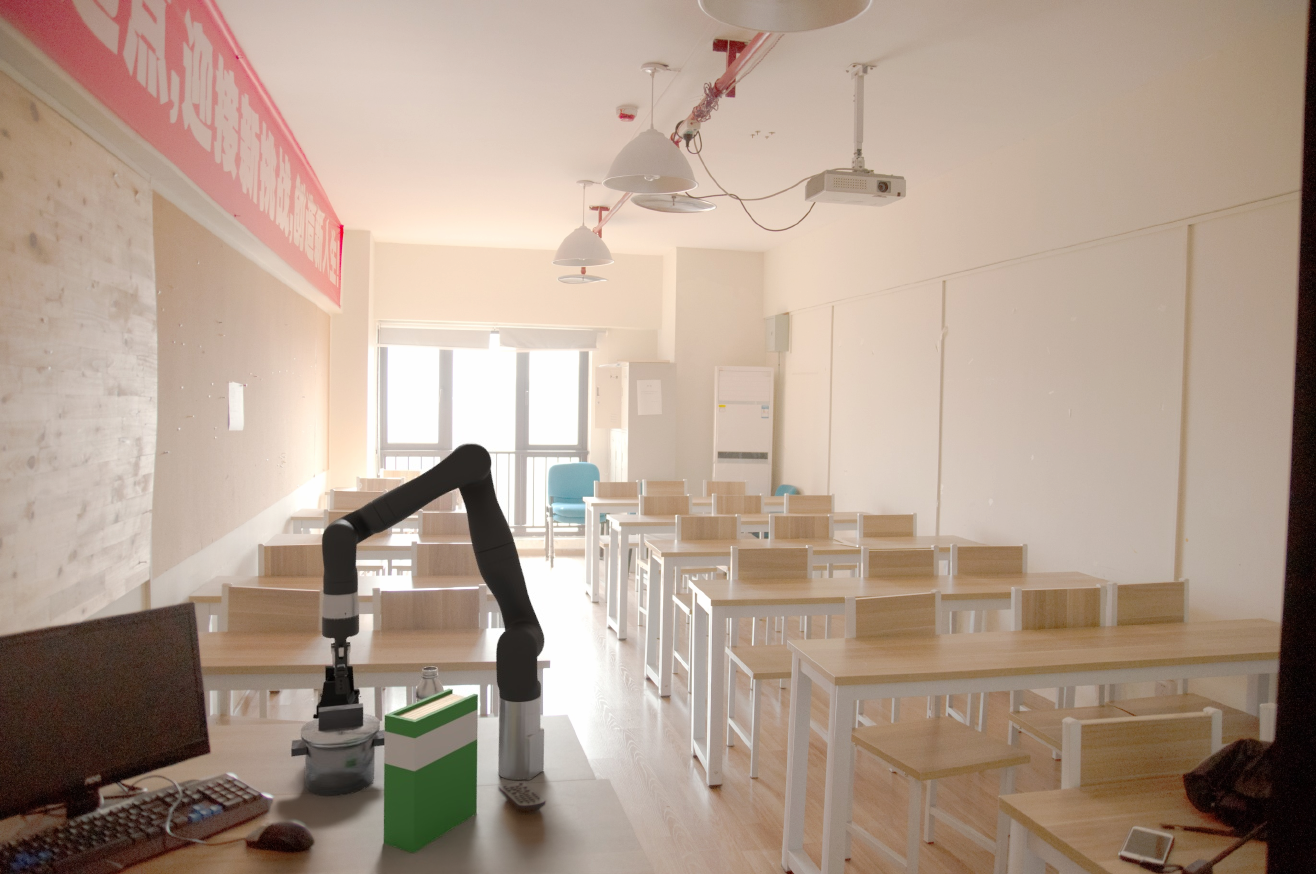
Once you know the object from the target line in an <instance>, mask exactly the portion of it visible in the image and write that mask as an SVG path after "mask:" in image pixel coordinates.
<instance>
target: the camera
mask: <svg viewBox="0 0 1316 874" xmlns="http://www.w3.org/2000/svg"><path fill="white" fill-rule="evenodd" d="M324 669H325V670H324V671H325V672H324V673H325V674H324V675H325V676H324V677H325V681H323V685H322V692H321V693H320V694H319V697H320V701H319V702H318V703H317V705H316V707H315V708H316V713H314V714H313V715H312V718H313V720H315V719H318V718H319V708H321V707H331V706H341V705H350V704H360V699H359V698H362V695H360V694H361V691H360V688H355V680H354V666H353V665H349V666H347V671H348V674H347V692H346V693H345V694H336V692H335V675H334V672H335V668H334V667H333V666H332V665H325V668H324ZM359 695H360V696H359Z"/></svg>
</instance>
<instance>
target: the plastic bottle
mask: <svg viewBox="0 0 1316 874" xmlns="http://www.w3.org/2000/svg"><path fill="white" fill-rule="evenodd" d="M438 677H439V667H437V666H425V667H423V668H421V679H420V682H418V684H417V686H416V688H415V692H414V693H415V701H416V702H418V701H420V700H423V699H425V698H427V697H430V696H432V695H435V694H437V693H440V692H442V691H445V689H444V686H443V684H442V683H441V681H440V680H439V678H438Z"/></svg>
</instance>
